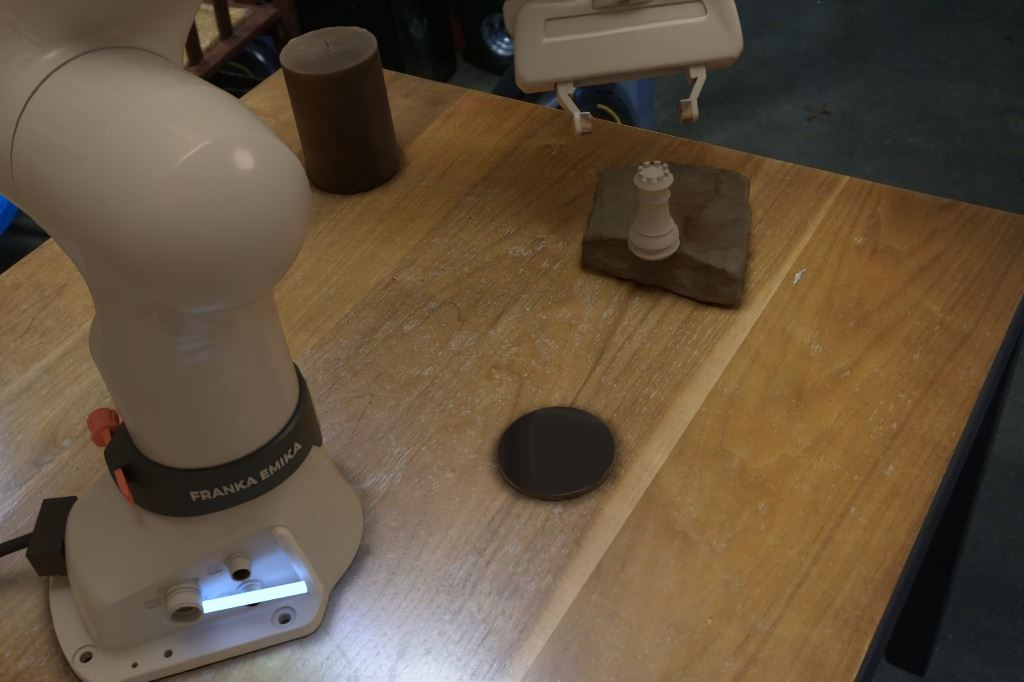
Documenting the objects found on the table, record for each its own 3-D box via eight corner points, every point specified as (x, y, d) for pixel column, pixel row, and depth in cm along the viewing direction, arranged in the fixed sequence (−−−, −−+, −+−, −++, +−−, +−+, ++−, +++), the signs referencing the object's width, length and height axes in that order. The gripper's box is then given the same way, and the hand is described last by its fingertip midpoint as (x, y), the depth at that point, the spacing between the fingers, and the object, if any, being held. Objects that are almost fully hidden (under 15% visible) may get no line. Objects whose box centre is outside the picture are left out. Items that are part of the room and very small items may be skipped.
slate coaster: (531, 519, 80) (531, 513, 79) (478, 439, 86) (477, 434, 85) (638, 469, 82) (638, 464, 82) (578, 395, 88) (578, 390, 88)
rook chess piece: (688, 239, 95) (690, 161, 90) (665, 268, 92) (665, 190, 87) (642, 225, 97) (641, 148, 92) (618, 253, 94) (616, 176, 89)
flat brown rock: (741, 310, 94) (744, 273, 91) (572, 297, 97) (569, 260, 95) (755, 195, 106) (758, 159, 103) (604, 187, 109) (602, 151, 106)
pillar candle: (370, 201, 111) (342, 68, 100) (290, 184, 114) (255, 53, 104) (417, 150, 117) (394, 19, 107) (340, 135, 120) (310, 7, 110)
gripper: (499, -24, 95) (520, 135, 94) (735, -54, 95) (757, 104, 94) (500, 2, 101) (519, 150, 100) (721, -27, 101) (741, 122, 100)
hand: (636, 128), depth 97 cm, fingers open, 8 cm apart
